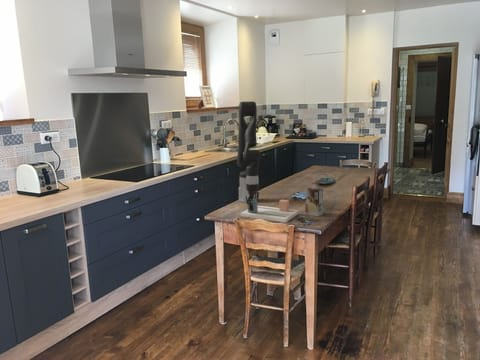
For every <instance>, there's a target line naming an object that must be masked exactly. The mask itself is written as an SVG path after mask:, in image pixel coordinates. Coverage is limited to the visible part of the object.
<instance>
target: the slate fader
mask: <svg viewBox="0 0 480 360" xmlns="http://www.w3.org/2000/svg"><path fill="white" fill-rule="evenodd" d="M251 203H252V201H251ZM258 203H259V202H253V211H250V210H249V205H248V204H247V210H248V212H252V213H256V212H258V206H259V205H258Z"/></svg>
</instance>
